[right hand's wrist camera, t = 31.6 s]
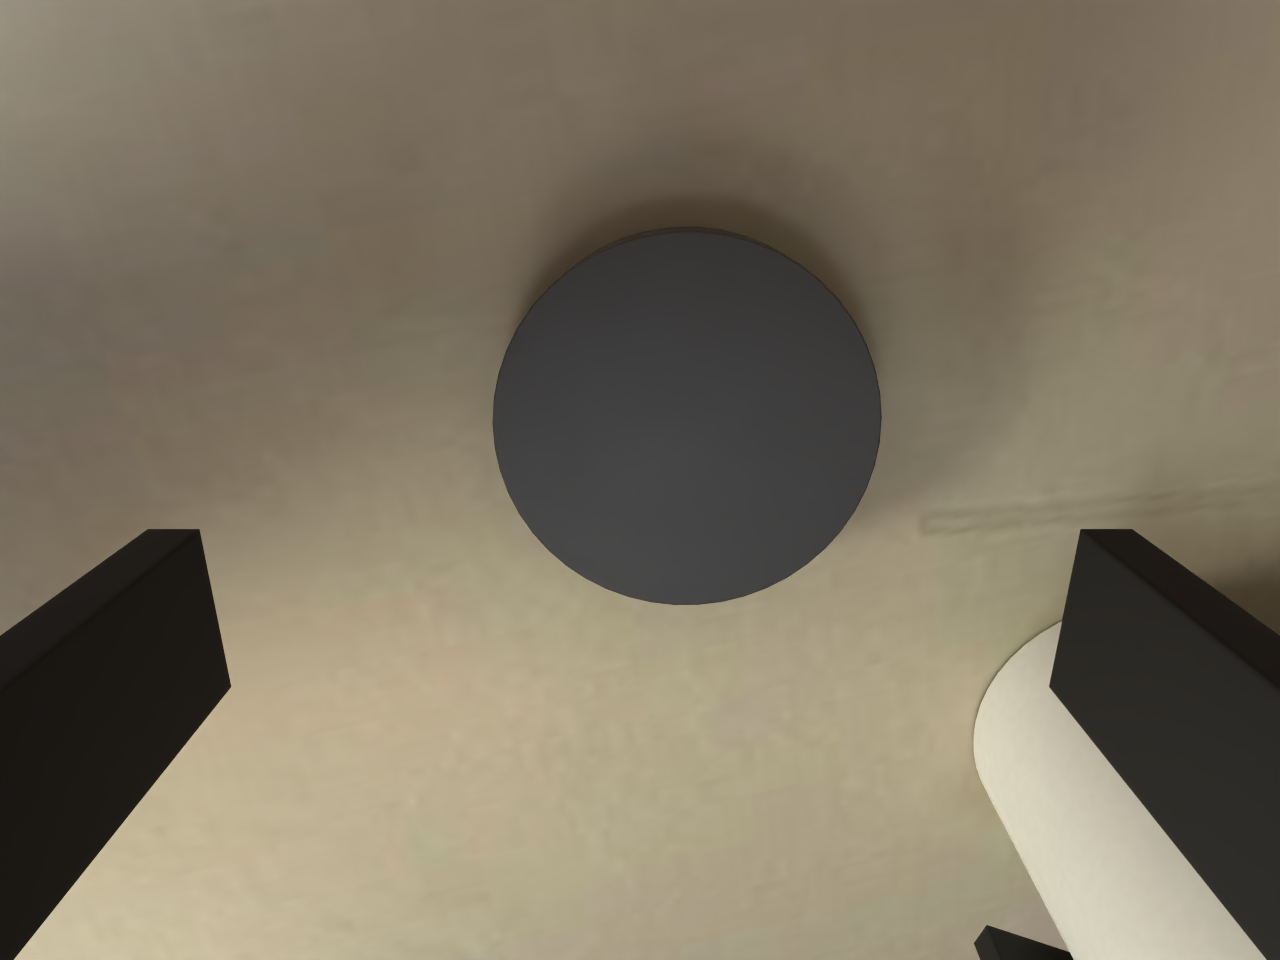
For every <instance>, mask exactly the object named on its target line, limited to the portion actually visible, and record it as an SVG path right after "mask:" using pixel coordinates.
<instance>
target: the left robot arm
mask: <svg viewBox="0 0 1280 960" xmlns="http://www.w3.org/2000/svg"><path fill="white" fill-rule="evenodd" d="M974 945H975V947H976V950H977V952H978V955H979V957H980V960H1074V959H1073V957H1072V955H1071V954H1070V952H1067V951H1064V950H1061V949H1058V948H1055V947H1052V946H1049V945H1046V944H1043V943H1040V942H1037V941H1034V940H1031V939H1028V938H1025V937H1022V936H1019V935H1015V934H1012V933H1009V932H1006V931H1003V930H1000V929H997V928H994V927H991V926H988V925H987V926H986V927H985V928H984V930H983V931H982V933H981V934H980V936H979V937H978V938H977V940H976V941H975V943H974Z"/></svg>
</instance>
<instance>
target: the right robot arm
mask: <svg viewBox="0 0 1280 960" xmlns="http://www.w3.org/2000/svg"><path fill="white" fill-rule="evenodd" d="M230 688H231V684H230V679H229V674H228V669H227V664H226V659H225V654H224V649H223V644H222V639H221V634H220V629H219V624H218V619H217V614H216V609H215V604H214V600H213V595H212V590H211V585H210V580H209V575H208V570H207V565H206V560H205V555H204V550H203V545H202V540H201V535H200V530H199V529H148V530H146V531H145V532H143V533H142V534H141V535H139V536H138V537H136V538H135V539H134V540H132V541H131V542H130V543H128V544H127V545H125V546H124V547H123V548H121V549H120V550H118V551H117V552H116V553H114V554H113V555H112V556H110V557H109V558H107V559H106V560H105V561H103V562H102V563H100V564H99V565H98V566H96V567H95V568H94V569H92V570H91V571H89V572H88V573H87V574H85V575H84V576H82V577H81V578H80V579H78V580H77V581H76V582H74V583H73V584H71V585H70V586H69V587H67V588H66V589H64V590H63V591H62V592H60V593H59V594H58V595H56V596H55V597H53V598H52V599H51V600H49V601H48V602H46V603H45V604H44V605H42V606H41V607H40V608H38V609H37V610H35V611H34V612H33V613H31V614H30V615H28V616H27V617H26V618H24V619H23V620H22V621H20V622H19V623H17V624H16V625H15V626H13V627H12V628H10V629H9V630H8V631H6V632H5V633H4V634H2V635H1V636H0V960H14V959H15V957H16V956H17V955H18V953H19V952H20V951H21V950H22V948H23V947H24V946H25V945H26V943H27V942H28V941H29V940H30V938H31V937H32V936H33V935H34V933H35V932H36V931H37V930H38V928H39V927H40V926H41V925H42V923H43V922H44V921H45V920H46V918H47V917H48V916H49V915H50V913H51V912H52V911H53V910H54V908H55V907H56V906H57V905H58V903H59V902H60V901H61V900H62V898H63V897H64V896H65V895H66V893H67V892H68V891H69V890H70V888H71V887H72V886H73V885H74V883H75V882H76V881H77V879H78V878H79V877H80V876H81V874H82V873H83V872H84V871H85V869H86V868H87V867H88V866H89V864H90V863H91V862H92V861H93V859H94V858H95V857H96V856H97V854H98V853H99V852H100V851H101V849H102V848H103V847H104V846H105V844H106V843H107V842H108V841H109V839H110V838H111V837H112V836H113V834H114V833H115V832H116V831H117V829H118V828H119V827H120V826H121V824H122V823H123V822H124V821H125V819H126V818H127V817H128V816H129V814H130V813H131V812H132V810H133V809H134V808H135V807H136V805H137V804H138V803H139V802H140V800H141V799H142V798H143V797H144V795H145V794H146V793H147V792H148V790H149V789H150V788H151V787H152V785H153V784H154V783H155V782H156V780H157V779H158V778H159V777H160V775H161V774H162V773H163V772H164V770H165V769H166V768H167V767H168V765H169V764H170V763H171V762H172V760H173V759H174V758H175V757H176V755H177V754H178V753H179V752H180V750H181V749H182V748H183V747H184V745H185V744H186V743H187V741H188V740H189V739H190V738H191V736H192V735H193V734H194V733H195V731H196V730H197V729H198V728H199V726H200V725H201V724H202V723H203V721H204V720H205V719H206V718H207V716H208V715H209V714H210V713H211V711H212V710H213V709H214V708H215V706H216V705H217V704H218V703H219V701H220V700H221V699H222V698H223V696H224V695H225V694H226V693H227V691H228V690H229V689H230ZM1049 688H1050V689H1051V690H1052V691H1053V693H1054V694H1055V695H1056V696H1057V698H1058V699H1059V700H1060V701H1061V703H1062V704H1063V705H1064V706H1065V708H1066V709H1067V710H1068V711H1069V713H1070V714H1071V715H1072V716H1073V718H1074V719H1075V720H1076V721H1077V723H1078V724H1079V725H1080V726H1081V728H1082V729H1083V730H1084V731H1085V733H1086V734H1087V735H1088V736H1089V738H1090V739H1091V740H1092V742H1093V743H1094V744H1095V745H1096V747H1097V748H1098V749H1099V750H1100V752H1101V753H1102V754H1103V755H1104V757H1105V758H1106V759H1107V760H1108V762H1109V763H1110V764H1111V765H1112V767H1113V768H1114V769H1115V770H1116V772H1117V773H1118V774H1119V775H1120V777H1121V778H1122V779H1123V780H1124V782H1125V783H1126V784H1127V785H1128V787H1129V788H1130V789H1131V790H1132V792H1133V793H1134V794H1135V795H1136V797H1137V798H1138V799H1139V800H1140V802H1141V803H1142V804H1143V805H1144V807H1145V808H1146V809H1147V810H1148V812H1149V813H1150V814H1151V816H1152V817H1153V818H1154V819H1155V821H1156V822H1157V823H1158V824H1159V826H1160V827H1161V828H1162V829H1163V831H1164V832H1165V833H1166V834H1167V836H1168V837H1169V838H1170V839H1171V841H1172V842H1173V843H1174V844H1175V846H1176V847H1177V848H1178V849H1179V851H1180V852H1181V853H1182V854H1183V856H1184V857H1185V858H1186V859H1187V861H1188V862H1189V863H1190V864H1191V866H1192V867H1193V868H1194V869H1195V871H1196V872H1197V873H1198V874H1199V876H1200V877H1201V878H1202V879H1203V881H1204V882H1205V883H1206V885H1207V886H1208V887H1209V888H1210V890H1211V891H1212V892H1213V893H1214V895H1215V896H1216V897H1217V898H1218V900H1219V901H1220V902H1221V903H1222V905H1223V906H1224V907H1225V908H1226V910H1227V911H1228V912H1229V913H1230V915H1231V916H1232V917H1233V918H1234V920H1235V921H1236V922H1237V923H1238V925H1239V926H1240V927H1241V928H1242V930H1243V931H1244V932H1245V933H1246V935H1247V936H1248V937H1249V938H1250V940H1251V941H1252V942H1253V943H1254V945H1255V946H1256V947H1257V948H1258V950H1259V951H1260V952H1261V954H1262V955H1263V956H1264V957H1265V959H1266V960H1280V636H1279V635H1278V634H1276V633H1275V632H1274V631H1272V630H1271V629H1270V628H1268V627H1267V626H1265V625H1264V624H1263V623H1261V622H1260V621H1258V620H1257V619H1256V618H1254V617H1253V616H1252V615H1250V614H1249V613H1247V612H1246V611H1245V610H1243V609H1242V608H1240V607H1239V606H1238V605H1236V604H1235V603H1234V602H1232V601H1231V600H1229V599H1228V598H1227V597H1225V596H1224V595H1222V594H1221V593H1220V592H1218V591H1217V590H1216V589H1214V588H1213V587H1211V586H1210V585H1209V584H1207V583H1206V582H1204V581H1203V580H1202V579H1200V578H1199V577H1198V576H1196V575H1195V574H1193V573H1192V572H1191V571H1189V570H1188V569H1186V568H1185V567H1184V566H1182V565H1181V564H1180V563H1178V562H1177V561H1175V560H1174V559H1173V558H1171V557H1170V556H1168V555H1167V554H1166V553H1164V552H1163V551H1162V550H1160V549H1159V548H1157V547H1156V546H1155V545H1153V544H1152V543H1150V542H1149V541H1148V540H1146V539H1145V538H1144V537H1142V536H1141V535H1139V534H1138V533H1137V532H1135V531H1134V530H1132V529H1081V530H1080V535H1079V540H1078V545H1077V550H1076V555H1075V560H1074V565H1073V570H1072V575H1071V580H1070V585H1069V590H1068V595H1067V599H1066V604H1065V609H1064V614H1063V619H1062V624H1061V629H1060V634H1059V639H1058V644H1057V649H1056V654H1055V659H1054V664H1053V669H1052V674H1051V679H1050V684H1049Z"/></svg>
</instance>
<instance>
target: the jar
mask: <svg viewBox="0 0 1280 960" xmlns="http://www.w3.org/2000/svg"><path fill="white" fill-rule="evenodd" d="M1061 624H1062V621H1061V622H1059V623H1057V624H1055V625H1054V626H1052V627H1050V628H1049V629H1047V630H1045V631H1043V632H1042V633H1040V634H1039V635H1037V636H1036V637H1035V638H1033V639H1032V640H1031V641H1029V642H1028V643H1027V644H1025V645H1024V646H1023V647H1022V648H1021V649H1020V650H1019V651H1018V652H1017V653H1016V654H1014V655H1013V656H1012V657H1011V658H1010V659H1009V660H1008V662H1007V663H1006V664H1005V665H1004V666H1003V668H1002V669H1001V670H1000V671H999V672H998V674H997V675H996V677H995V678H994V680H993V681H992V683H991V685H990V686H989V688H988V690H987V692H986V694H985V696H984V698H983V700H982V702H981V705H980V708H979V711H978V714H977V718H976V722H975V729H974V736H973V746H974V757H975V763H976V768H977V771H978V774H979V776H980V779H981V782H982V784H983V786H984V788H985V789H986V791H987V793H988V795H989V797H990V799H991V801H992V803H993V805H994V807H995V809H996V811H997V813H998V815H999V817H1000V818H1001V820H1002V822H1003V824H1004V826H1005V828H1006V830H1007V832H1008V834H1009V836H1010V838H1011V840H1012V842H1013V844H1014V845H1015V847H1016V849H1017V851H1018V853H1019V855H1020V857H1021V859H1022V861H1023V863H1024V865H1025V867H1026V869H1027V871H1028V872H1029V874H1030V876H1031V878H1032V880H1033V882H1034V884H1035V886H1036V888H1037V890H1038V892H1039V894H1040V896H1041V898H1042V900H1043V901H1044V903H1045V905H1046V907H1047V909H1048V911H1049V913H1050V915H1051V917H1052V919H1053V921H1054V923H1055V925H1056V927H1057V928H1058V930H1059V932H1060V934H1061V936H1062V938H1063V940H1064V942H1065V944H1066V946H1067V948H1068V950H1069V952H1070V954H1071V955H1072V957H1073V959H1074V960H1266V959H1265V957H1264V956H1263V955H1262V954H1261V952H1260V951H1259V950H1258V948H1257V947H1256V946H1255V945H1254V943H1253V942H1252V941H1251V940H1250V938H1249V937H1248V936H1247V935H1246V933H1245V932H1244V931H1243V930H1242V928H1241V927H1240V926H1239V925H1238V923H1237V922H1236V921H1235V920H1234V918H1233V917H1232V916H1231V915H1230V913H1229V912H1228V911H1227V910H1226V908H1225V907H1224V906H1223V905H1222V903H1221V902H1220V901H1219V900H1218V898H1217V897H1216V896H1215V895H1214V893H1213V892H1212V891H1211V890H1210V888H1209V887H1208V886H1207V885H1206V883H1205V882H1204V881H1203V879H1202V878H1201V877H1200V876H1199V874H1198V873H1197V872H1196V871H1195V869H1194V868H1193V867H1192V866H1191V864H1190V863H1189V862H1188V861H1187V859H1186V858H1185V857H1184V856H1183V854H1182V853H1181V852H1180V851H1179V849H1178V848H1177V847H1176V846H1175V844H1174V843H1173V842H1172V841H1171V839H1170V838H1169V837H1168V836H1167V834H1166V833H1165V832H1164V831H1163V829H1162V828H1161V827H1160V826H1159V824H1158V823H1157V822H1156V821H1155V819H1154V818H1153V817H1152V816H1151V814H1150V813H1149V812H1148V810H1147V809H1146V808H1145V807H1144V805H1143V804H1142V803H1141V802H1140V800H1139V799H1138V798H1137V797H1136V795H1135V794H1134V793H1133V792H1132V790H1131V789H1130V788H1129V787H1128V785H1127V784H1126V783H1125V782H1124V780H1123V779H1122V778H1121V777H1120V775H1119V774H1118V773H1117V772H1116V770H1115V769H1114V768H1113V767H1112V765H1111V764H1110V763H1109V762H1108V760H1107V759H1106V758H1105V757H1104V755H1103V754H1102V753H1101V752H1100V750H1099V749H1098V748H1097V747H1096V745H1095V744H1094V743H1093V742H1092V740H1091V739H1090V738H1089V736H1088V735H1087V734H1086V733H1085V731H1084V730H1083V729H1082V728H1081V726H1080V725H1079V724H1078V723H1077V721H1076V720H1075V719H1074V718H1073V716H1072V715H1071V714H1070V713H1069V711H1068V710H1067V709H1066V708H1065V706H1064V705H1063V704H1062V703H1061V701H1060V700H1059V699H1058V698H1057V696H1056V695H1055V694H1054V693H1053V691H1052V690H1051V689H1050V688H1049V684H1050V679H1051V674H1052V669H1053V664H1054V659H1055V654H1056V649H1057V644H1058V639H1059V634H1060V629H1061Z"/></svg>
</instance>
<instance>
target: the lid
mask: <svg viewBox="0 0 1280 960" xmlns="http://www.w3.org/2000/svg"><path fill="white" fill-rule="evenodd" d="M880 430H881V402H880V391H879V386H878V381H877V376H876V371H875V367H874V364H873V361H872V359H871V356H870V353H869V350H868V347H867V344H866V343H865V341H864V339H863V337H862V335H861V333H860V331H859V329H858V327H857V325H856V323H855V322H854V320H853V319H852V317H851V316H850V315H849V313H848V312H847V310H846V309H845V308H844V306H843V305H842V303H841V302H840V301H839V300H838V299H837V297H836V296H835V295H834V294H833V293H832V292H831V291H830V290H829V289H828V288H827V287H826V286H825V285H824V284H823V283H822V282H821V281H820V280H819V279H817V278H816V277H815V276H814V275H812V274H811V273H810V272H809V271H807V270H806V269H805V268H803V267H802V266H801V265H800V264H798V263H796V262H795V261H793V260H792V259H790V258H789V257H787V256H785V255H783V254H782V253H780V252H778V251H776V250H775V249H773V248H771V247H770V246H768V245H765V244H763V243H761V242H758V241H756V240H753V239H751V238H748V237H746V236H743V235H739V234H735V233H731V232H727V231H723V230H717V229H709V228H700V227H675V228H665V229H659V230H652V231H646V232H643V233H639V234H636V235H633V236H629V237H626V238H623V239H620V240H618V241H616V242H614V243H612V244H609V245H607V246H605V247H603V248H601V249H599V250H597V251H596V252H594V253H592V254H591V255H589V256H588V257H586V258H585V259H583V260H581V261H580V262H578V263H577V264H576V265H575V266H574V267H572V268H571V269H570V270H569V271H568V272H566V273H565V274H564V275H563V276H562V277H561V278H559V279H558V280H557V281H556V282H555V283H554V284H552V285H551V286H550V287H549V288H548V289H547V290H546V292H545V293H544V294H543V295H542V296H541V297H540V298H539V299H538V300H537V302H536V303H535V304H534V305H533V306H532V307H531V309H530V310H529V312H528V313H527V315H526V316H525V318H524V319H523V321H522V322H521V324H520V325H519V327H518V328H517V330H516V332H515V334H514V336H513V338H512V340H511V342H510V344H509V346H508V348H507V350H506V353H505V356H504V359H503V362H502V365H501V368H500V371H499V374H498V380H497V385H496V390H495V396H494V407H493V432H494V443H495V450H496V455H497V459H498V463H499V468H500V472H501V474H502V477H503V480H504V483H505V485H506V488H507V491H508V493H509V495H510V497H511V499H512V501H513V503H514V505H515V507H516V508H517V510H518V512H519V514H520V515H521V517H522V518H523V520H524V521H525V523H526V524H527V525H528V527H529V528H530V530H531V531H532V533H533V534H534V535H535V536H536V537H537V538H538V539H539V540H540V541H541V543H542V544H543V545H544V546H545V547H546V548H547V549H548V550H549V551H550V552H551V553H552V554H553V555H555V556H556V557H557V558H558V559H559V560H560V561H562V562H563V563H564V564H565V565H566V566H568V567H569V568H571V569H572V570H574V571H575V572H577V573H578V574H580V575H581V576H583V577H584V578H586V579H588V580H590V581H592V582H594V583H596V584H598V585H600V586H602V587H604V588H606V589H608V590H611V591H614V592H617V593H619V594H622V595H625V596H628V597H631V598H636V599H640V600H644V601H649V602H655V603H663V604H672V605H699V604H707V603H716V602H723V601H727V600H731V599H735V598H739V597H743V596H746V595H749V594H752V593H754V592H757V591H760V590H763V589H765V588H768V587H769V586H771V585H773V584H775V583H777V582H779V581H781V580H783V579H785V578H787V577H789V576H790V575H792V574H793V573H795V572H796V571H798V570H799V569H801V568H802V567H803V566H805V565H806V564H808V563H809V562H810V561H811V560H812V559H814V558H815V557H816V556H817V555H818V554H819V553H820V552H822V551H823V550H824V549H825V548H826V547H827V546H828V545H829V544H830V542H831V541H832V540H833V539H834V538H835V537H836V536H837V535H838V534H839V532H840V531H841V530H842V529H843V527H844V526H845V524H846V523H847V522H848V520H849V519H850V517H851V516H852V514H853V513H854V511H855V510H856V508H857V506H858V504H859V502H860V500H861V498H862V496H863V494H864V492H865V490H866V488H867V485H868V483H869V480H870V477H871V474H872V472H873V469H874V466H875V461H876V457H877V452H878V447H879V443H880Z"/></svg>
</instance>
